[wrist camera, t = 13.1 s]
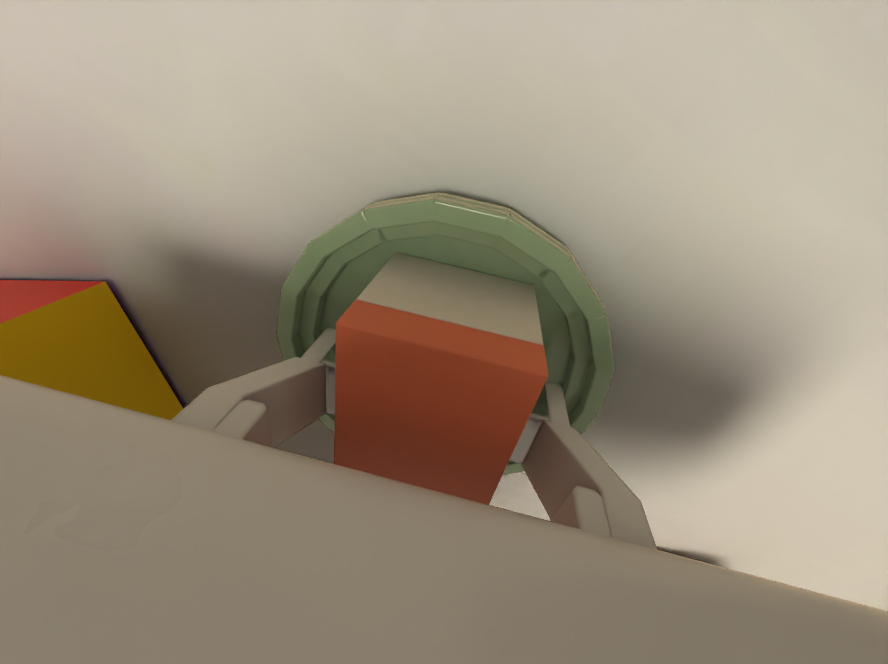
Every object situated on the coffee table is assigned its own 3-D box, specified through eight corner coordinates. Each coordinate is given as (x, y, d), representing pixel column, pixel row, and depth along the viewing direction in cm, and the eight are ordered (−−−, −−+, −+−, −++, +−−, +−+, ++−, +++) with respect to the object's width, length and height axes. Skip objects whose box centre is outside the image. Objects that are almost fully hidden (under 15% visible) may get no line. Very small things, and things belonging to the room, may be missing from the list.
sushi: (482, 428, 13) (473, 539, 9) (378, 402, 13) (332, 502, 9) (534, 284, 9) (550, 375, 6) (395, 251, 10) (334, 322, 6)
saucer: (539, 472, 14) (542, 506, 13) (305, 412, 15) (286, 440, 13) (669, 239, 9) (696, 260, 8) (291, 153, 9) (257, 158, 8)
